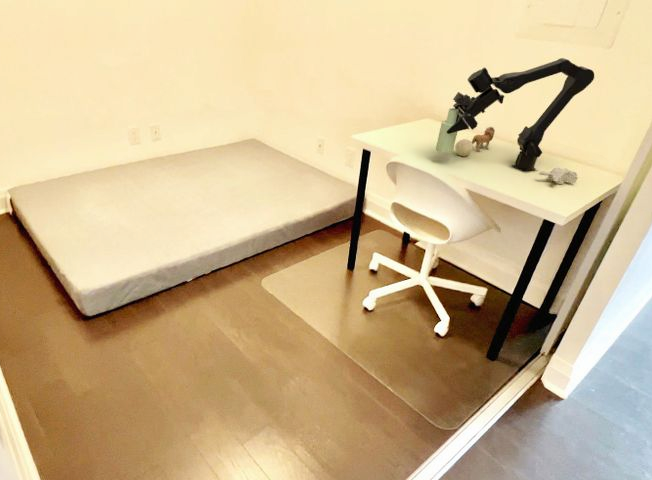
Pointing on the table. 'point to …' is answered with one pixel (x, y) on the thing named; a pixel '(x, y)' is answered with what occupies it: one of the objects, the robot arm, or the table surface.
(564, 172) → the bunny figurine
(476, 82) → the robot arm
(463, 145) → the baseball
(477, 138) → the lion figurine
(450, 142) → the bottle
